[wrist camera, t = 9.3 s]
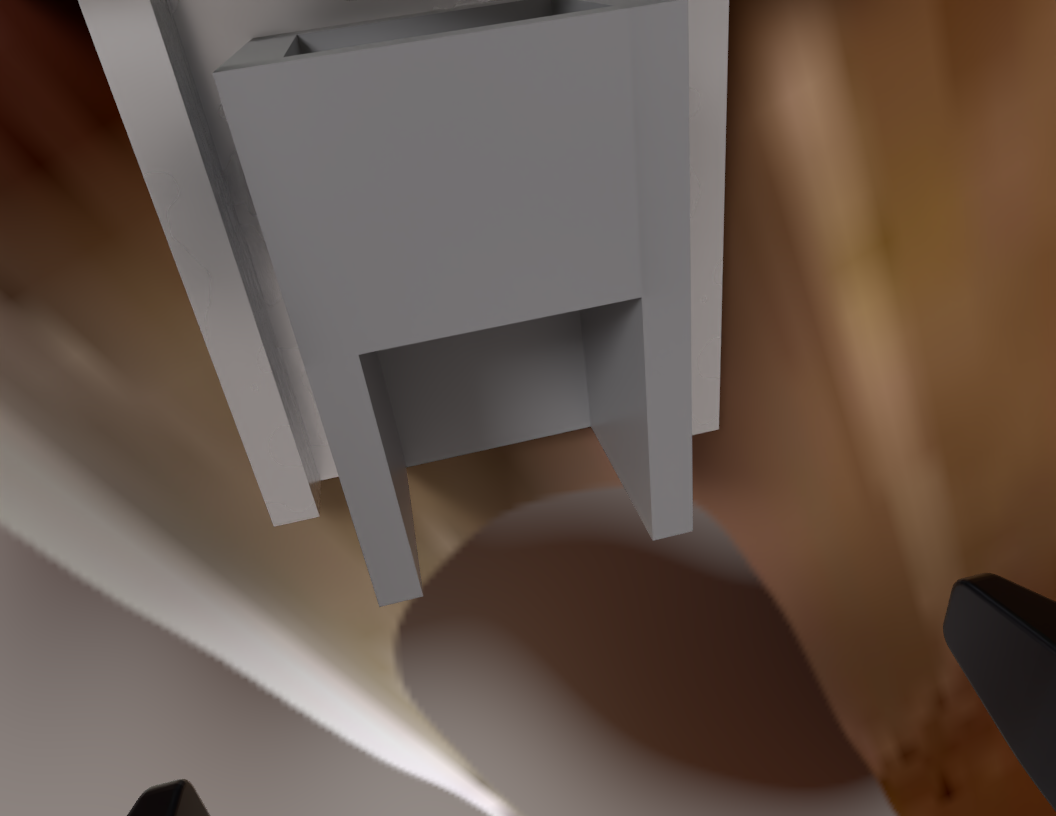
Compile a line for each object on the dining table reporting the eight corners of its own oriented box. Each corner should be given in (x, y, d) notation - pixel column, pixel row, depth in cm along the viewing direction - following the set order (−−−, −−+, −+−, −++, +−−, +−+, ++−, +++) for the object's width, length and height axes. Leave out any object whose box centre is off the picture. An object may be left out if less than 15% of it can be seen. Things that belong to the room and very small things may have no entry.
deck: (820, -893, 10) (1122, -1430, 6) (754, 379, 20) (854, 478, 16) (-392, -902, 8) (-1029, -1654, 4) (202, 496, 18) (165, 638, 14)
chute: (582, -13, 14) (688, -2, 10) (613, 402, 19) (692, 531, 14) (253, 38, 13) (212, 72, 9) (370, 456, 18) (379, 606, 14)
